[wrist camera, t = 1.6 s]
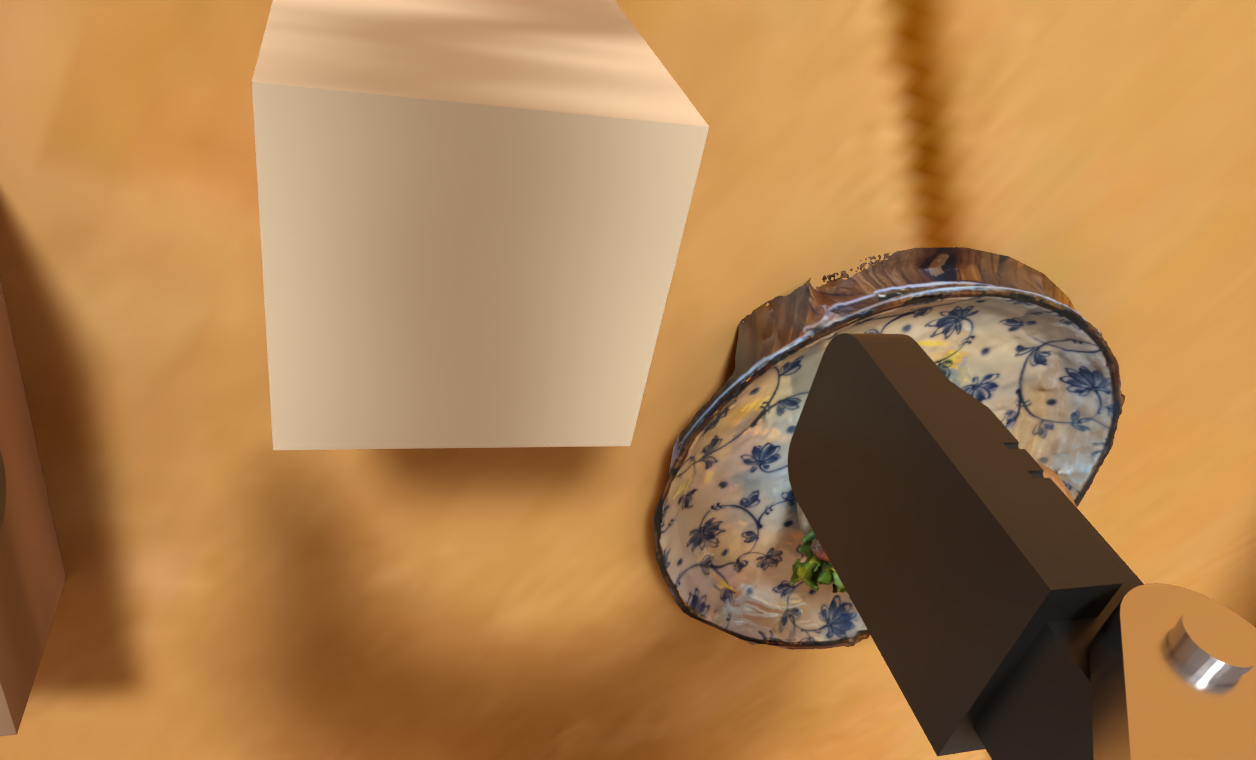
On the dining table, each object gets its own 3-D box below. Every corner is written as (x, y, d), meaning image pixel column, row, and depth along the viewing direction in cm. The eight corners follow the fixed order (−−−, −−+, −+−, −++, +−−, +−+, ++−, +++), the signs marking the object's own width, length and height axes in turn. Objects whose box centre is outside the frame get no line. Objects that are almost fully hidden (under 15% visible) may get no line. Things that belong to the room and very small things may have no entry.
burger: (644, 269, 18) (774, 550, 12) (1154, 215, 20) (1464, 432, 15) (631, 634, 25) (708, 915, 20) (1005, 566, 28) (1172, 801, 22)
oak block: (596, -24, 14) (710, 127, 10) (556, 231, 17) (630, 445, 12) (290, -69, 13) (251, 81, 8) (299, 216, 15) (273, 449, 11)
